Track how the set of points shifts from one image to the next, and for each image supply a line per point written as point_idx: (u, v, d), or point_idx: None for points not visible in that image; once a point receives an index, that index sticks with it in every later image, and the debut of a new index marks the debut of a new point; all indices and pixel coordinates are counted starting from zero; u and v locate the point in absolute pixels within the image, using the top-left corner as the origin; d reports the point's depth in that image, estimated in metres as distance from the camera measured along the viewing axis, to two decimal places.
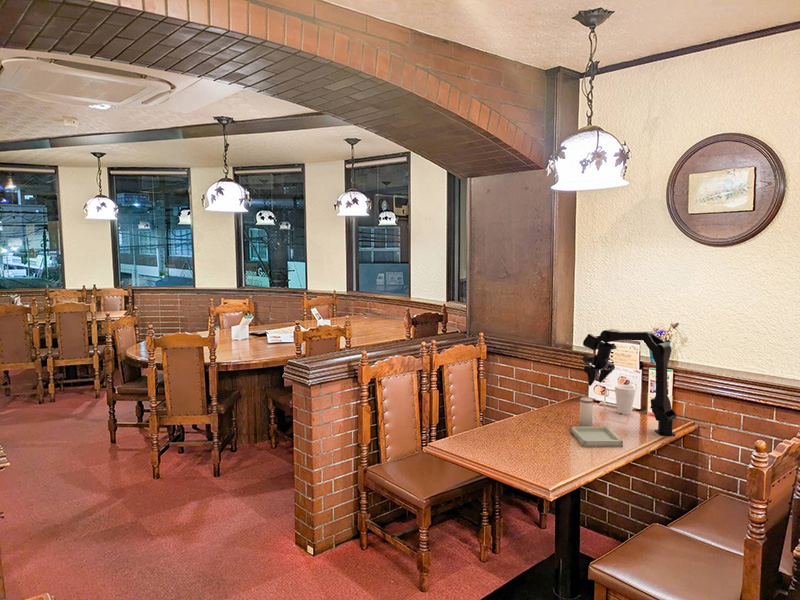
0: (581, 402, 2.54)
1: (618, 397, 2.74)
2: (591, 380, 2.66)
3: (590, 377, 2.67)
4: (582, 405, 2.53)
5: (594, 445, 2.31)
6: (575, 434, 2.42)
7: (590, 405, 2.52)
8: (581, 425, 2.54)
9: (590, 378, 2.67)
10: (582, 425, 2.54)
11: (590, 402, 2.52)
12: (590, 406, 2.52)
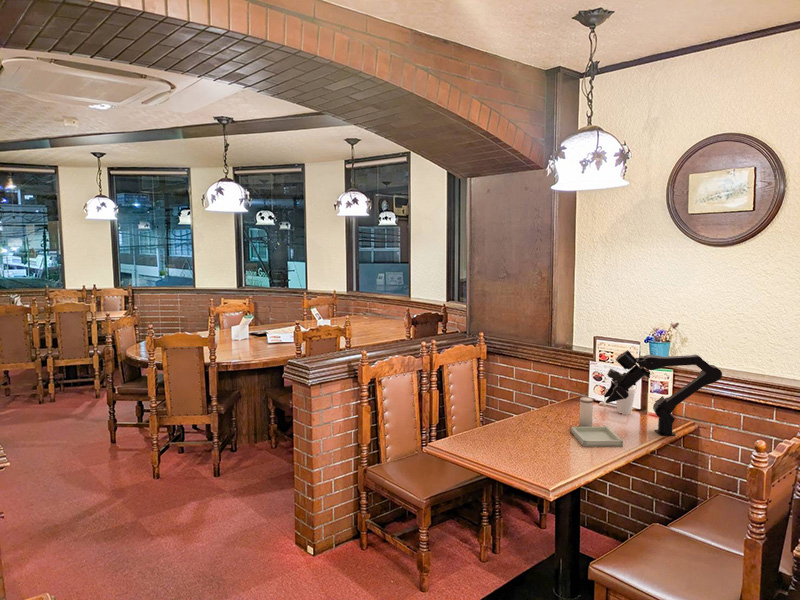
0: (581, 402, 2.54)
1: None
2: (613, 399, 2.46)
3: (613, 396, 2.46)
4: (582, 405, 2.53)
5: (594, 445, 2.31)
6: (575, 434, 2.42)
7: (590, 405, 2.52)
8: (581, 425, 2.54)
9: (613, 397, 2.46)
10: (582, 425, 2.54)
11: (590, 402, 2.52)
12: (590, 406, 2.52)
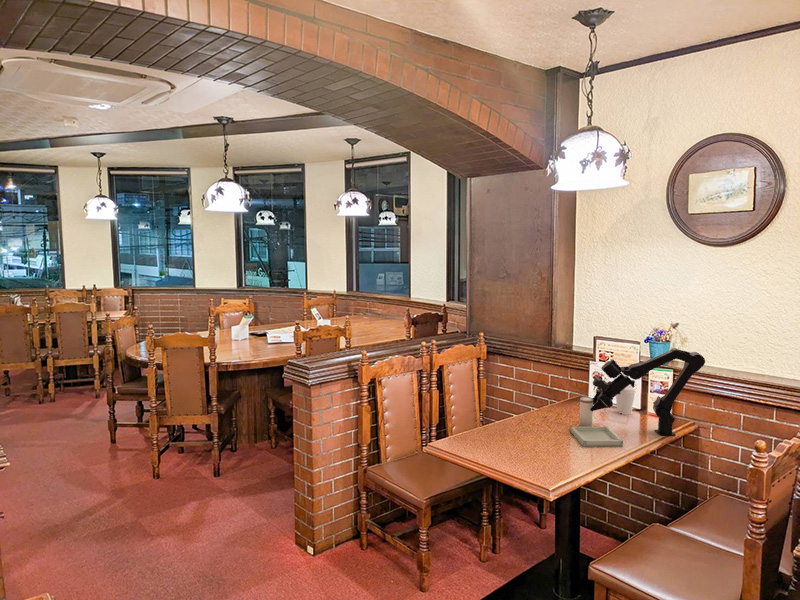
0: (581, 402, 2.54)
1: (618, 397, 2.74)
2: (598, 408, 2.48)
3: (598, 404, 2.48)
4: (582, 405, 2.53)
5: (594, 445, 2.31)
6: (575, 434, 2.42)
7: (590, 405, 2.52)
8: (581, 425, 2.54)
9: (597, 405, 2.48)
10: (582, 425, 2.54)
11: (590, 402, 2.52)
12: (590, 406, 2.52)
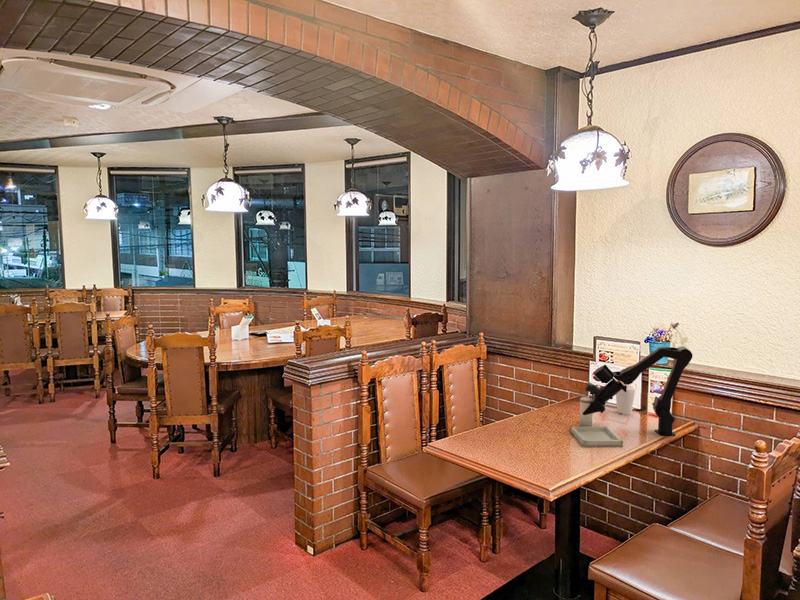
0: (581, 402, 2.54)
1: (618, 397, 2.74)
2: (590, 412, 2.51)
3: (590, 408, 2.50)
4: (582, 405, 2.53)
5: (594, 445, 2.31)
6: (575, 434, 2.42)
7: None
8: (581, 425, 2.54)
9: (590, 409, 2.51)
10: (582, 425, 2.54)
11: None
12: None
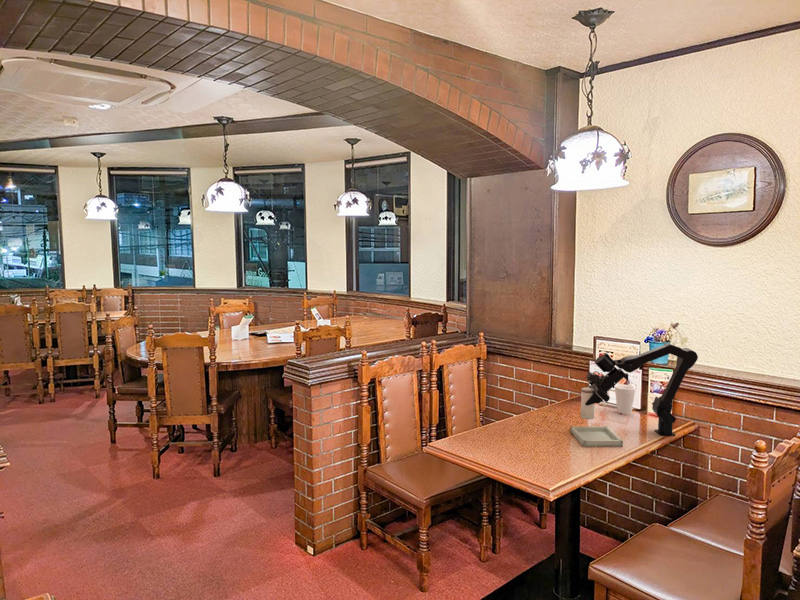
0: (583, 392, 2.48)
1: (618, 397, 2.74)
2: (593, 402, 2.46)
3: (593, 398, 2.45)
4: (584, 395, 2.48)
5: (594, 445, 2.31)
6: (575, 434, 2.42)
7: None
8: (583, 416, 2.49)
9: (593, 399, 2.46)
10: (584, 416, 2.49)
11: (592, 392, 2.47)
12: None
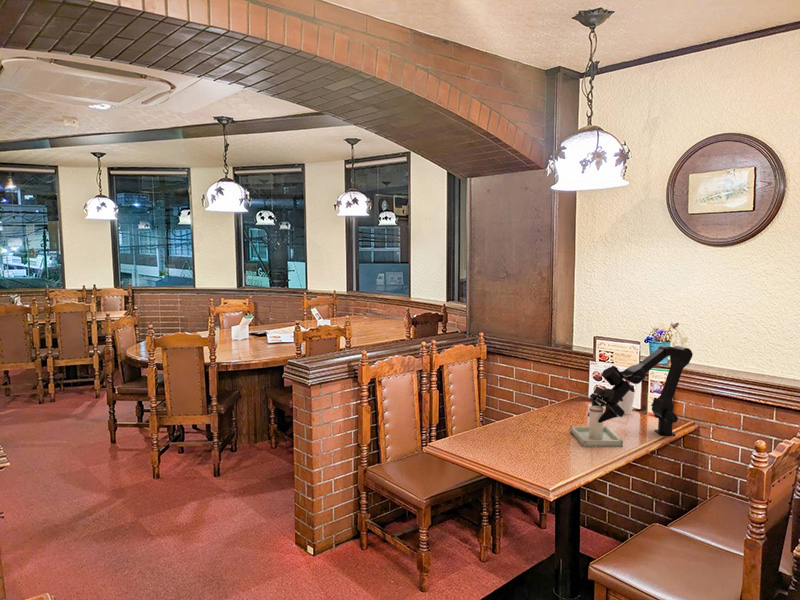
0: (593, 412, 2.37)
1: None
2: (607, 418, 2.34)
3: (607, 415, 2.34)
4: (595, 415, 2.36)
5: (594, 445, 2.31)
6: (575, 434, 2.42)
7: (602, 413, 2.37)
8: (594, 436, 2.37)
9: (606, 416, 2.34)
10: (595, 436, 2.37)
11: (602, 410, 2.37)
12: None
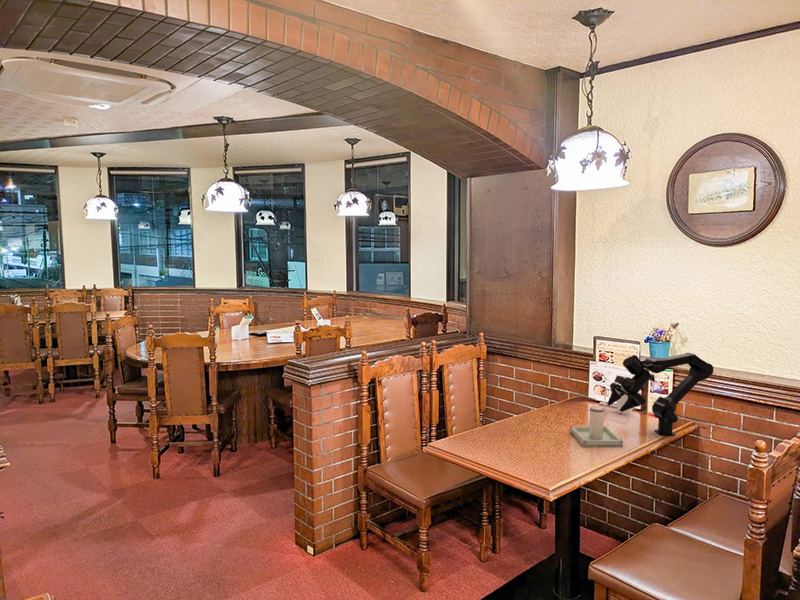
0: (594, 412, 2.37)
1: None
2: (628, 407, 2.35)
3: (629, 404, 2.35)
4: (595, 415, 2.36)
5: (594, 445, 2.31)
6: (575, 434, 2.42)
7: (603, 414, 2.37)
8: (594, 436, 2.38)
9: (628, 405, 2.35)
10: (595, 436, 2.37)
11: (603, 410, 2.37)
12: (603, 415, 2.37)
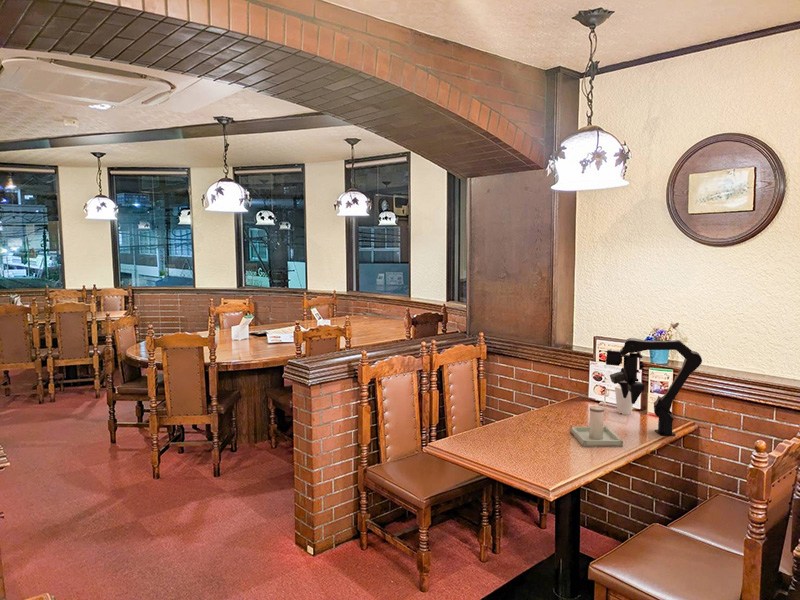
0: (594, 412, 2.37)
1: (618, 397, 2.74)
2: (636, 397, 2.45)
3: (634, 394, 2.45)
4: (595, 415, 2.36)
5: (594, 445, 2.31)
6: (575, 434, 2.42)
7: (603, 414, 2.37)
8: (594, 436, 2.38)
9: (634, 395, 2.45)
10: (595, 436, 2.37)
11: (603, 410, 2.37)
12: (603, 415, 2.37)
